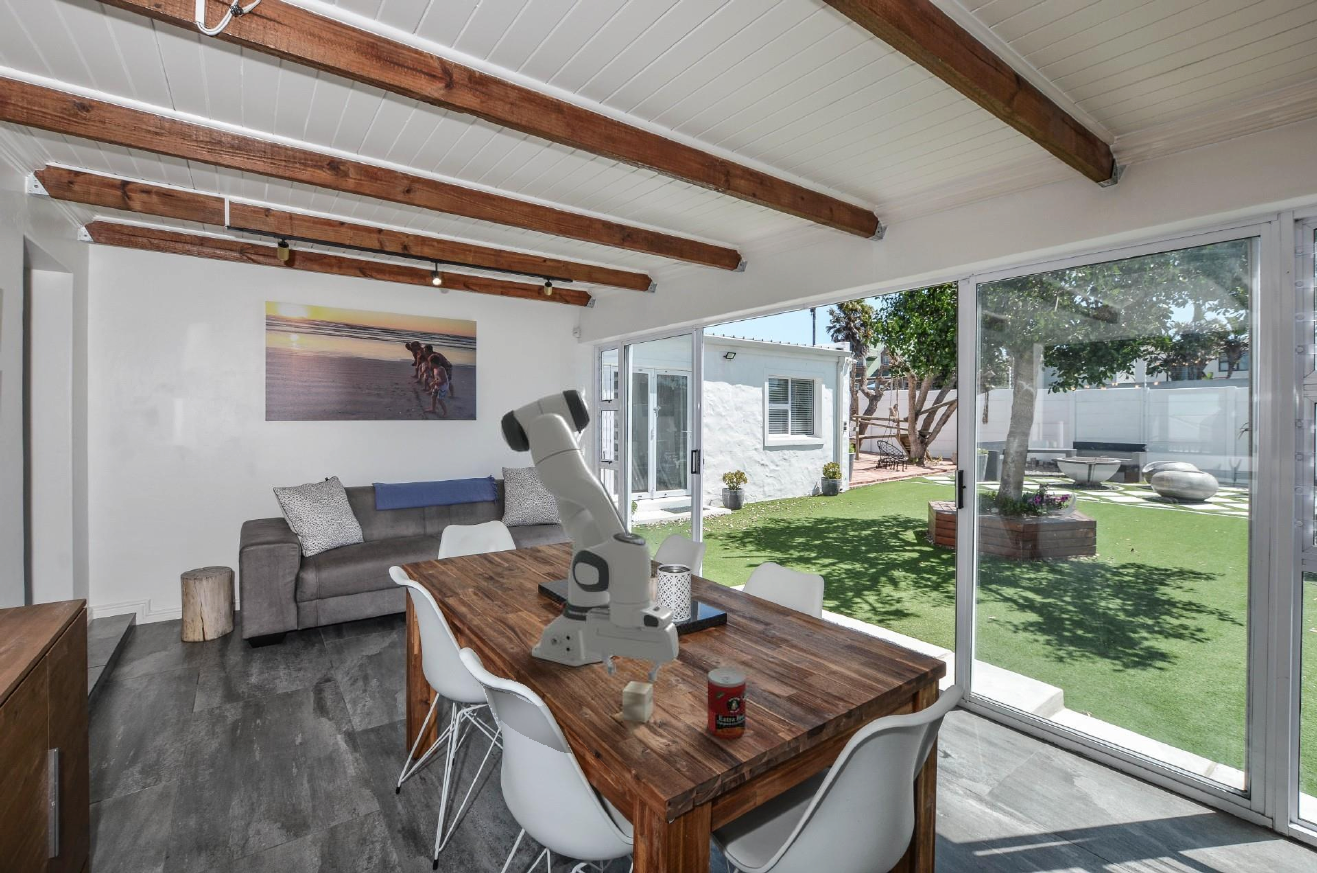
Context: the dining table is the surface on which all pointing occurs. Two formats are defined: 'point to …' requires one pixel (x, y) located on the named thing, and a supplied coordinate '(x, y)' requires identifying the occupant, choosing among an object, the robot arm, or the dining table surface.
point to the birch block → (637, 701)
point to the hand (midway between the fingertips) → (631, 676)
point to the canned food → (726, 702)
